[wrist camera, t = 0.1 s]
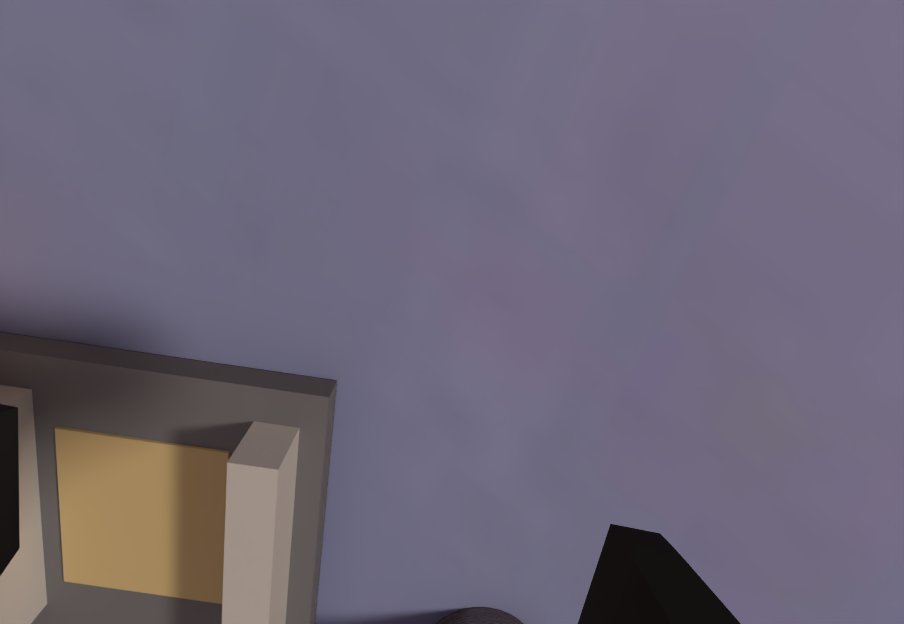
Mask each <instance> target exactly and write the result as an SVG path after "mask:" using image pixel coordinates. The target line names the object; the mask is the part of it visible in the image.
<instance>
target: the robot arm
mask: <svg viewBox="0 0 904 624" xmlns="http://www.w3.org/2000/svg"><path fill="white" fill-rule="evenodd" d="M19 548H20V537H19V443H18V407H14V406H9V405H4V404H0V576H1V574H2V573H3V572H4V570H5V569H6V567H7V566H8V564H9V563H10V561H11V560H12V559H13V557H14V556H15V554H16V553H17V551H18V550H19ZM578 624H740V623H739V621H738V620H737V619H736V618H735V617H734V616H733V615H732V613H731V612H730V611H729V610H728V609H727V608H726V607H725V605H724V604H723V603H722V602H721V601H720V600H719V599H718V597H717V596H716V595H715V594H714V593H713V592H712V591H711V589H710V588H709V587H708V586H707V585H706V584H705V583H704V581H703V580H702V579H701V578H700V577H699V576H698V574H697V573H696V572H695V571H694V570H693V569H692V568H691V567H690V565H689V564H688V563H687V562H686V561H685V560H684V559H683V558H682V556H681V555H680V554H679V553H678V552H677V551H676V550H675V549H674V548H673V547H672V545H671V544H670V543H669V542H668V541H667V540H666V539H665V538H664V537H663V536H662V535H661V534H659V533H654V532H649V531H644V530H639V529H634V528H629V527H624V526H619V525H614V524H610V527H609V531H608V534H607V537H606V540H605V543H604V546H603V549H602V552H601V555H600V558H599V561H598V564H597V567H596V570H595V573H594V576H593V579H592V582H591V585H590V588H589V591H588V594H587V597H586V601H585V604H584V607H583V610H582V613H581V616H580V619H579V622H578Z"/></svg>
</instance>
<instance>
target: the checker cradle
mask: <svg viewBox="0 0 904 624" xmlns="http://www.w3.org/2000/svg"><path fill="white" fill-rule="evenodd" d="M336 387H337V381H335V380H328V379H321V378H315V377H308V376H301V375H294V374H287V373H280V372H273V371H266V370H259V369H252V368H245V367H238V366H231V365H225V364H218V363H211V362H204V361H197V360H190V359H183V358H176V357H169V356H162V355H155V354H148V353H141V352H134V351H128V350H121V349H114V348H107V347H100V346H93V345H86V344H79V343H72V342H65V341H58V340H51V339H44V338H38V337H31V336H24V335H17V334H10V333H3V332H0V404H4V405H9V406H14V407H18V443H19V537H20V548H19V550H18V551H17V553H16V554H15V556H14V557H13V559H12V560H11V561H10V563H9V564H8V566H7V567H6V569H5V570H4V572H3V573H2V574H1V576H0V624H315V618H316V607H317V596H318V585H319V574H320V563H321V552H322V541H323V530H324V519H325V508H326V497H327V486H328V475H329V464H330V453H331V442H332V431H333V420H334V409H335V398H336Z"/></svg>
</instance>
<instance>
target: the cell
mask: <svg viewBox="0 0 904 624" xmlns="http://www.w3.org/2000/svg"><path fill="white" fill-rule="evenodd" d="M438 624H523V623H522V622H521V621H520V620H518V619H517V618H516V617H514V616H512V615H511V614H508V613H506V612H504V611H500V610H497V609H492V608H484V607H475V608H467V609H463V610H459V611H457V612H454V613H452V614H450V615H448V616H446V617H445V618H443V619H442V620H441V621H440V622H439V623H438Z"/></svg>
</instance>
